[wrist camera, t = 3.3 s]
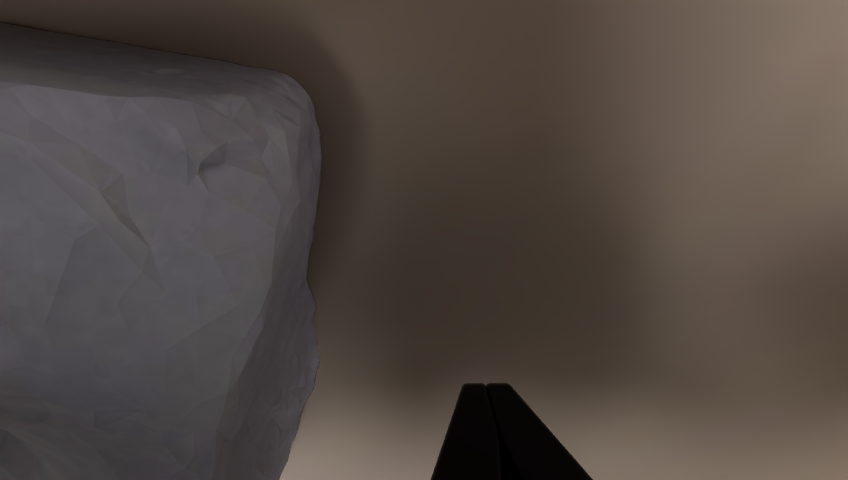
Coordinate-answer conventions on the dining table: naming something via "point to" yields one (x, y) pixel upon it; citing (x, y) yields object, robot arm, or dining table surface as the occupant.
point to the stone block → (151, 262)
